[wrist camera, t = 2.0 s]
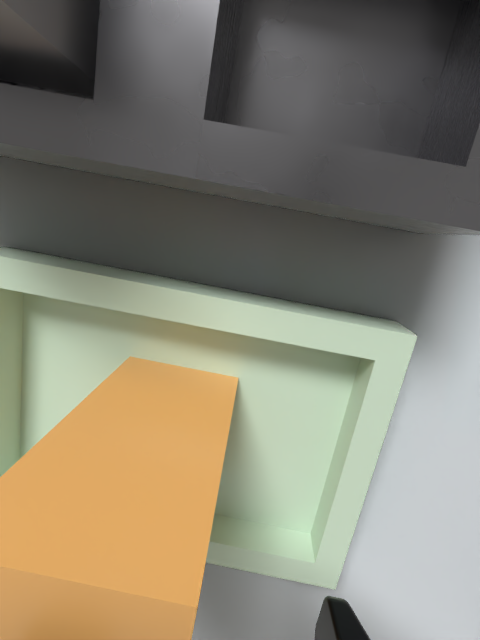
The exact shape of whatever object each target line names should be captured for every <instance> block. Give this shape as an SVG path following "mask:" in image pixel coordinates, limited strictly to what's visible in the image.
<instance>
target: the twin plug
mask: <svg viewBox="0 0 480 640" xmlns="http://www.w3.org/2000/svg"><path fill="white" fill-rule="evenodd" d="M99 9H100V0H0V80H2V81H8V82H13V83H19V84H24V85H30V86H36V87H41V88H47V89H52V90H58V91H63V92H69V93H74V94H80V95H85V96H91V97H94V85H95V70H96V55H97V39H98V24H99Z"/></svg>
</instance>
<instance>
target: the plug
mask: <svg viewBox="0 0 480 640" xmlns="http://www.w3.org/2000/svg"><path fill="white" fill-rule="evenodd" d="M238 379H239V378H238V377H233V376H228V375H223V374H217V373H212V372H207V371H202V370H197V369H192V368H187V367H182V366H177V365H171V364H166V363H161V362H156V361H151V360H146V359H141V358H136V357H131V356H130V357H129V358H128V359H127V360H125V361H124V362H123V363H122V364H121V365H120V366H119V367H118V368H117V369H116V370H115V371H114V372H113V373H112V374H110V375H109V376H108V377H107V378H106V379H105V380H104V381H103V382H102V383H101V384H100V385H99V386H98V387H97V388H95V389H94V390H93V391H92V392H91V393H90V394H89V395H88V396H87V397H86V398H85V399H84V400H83V401H82V402H80V403H79V404H78V405H77V406H76V407H75V408H74V409H73V410H72V411H71V412H70V413H69V414H68V415H67V416H65V417H64V418H63V419H62V420H61V421H60V422H59V423H58V424H57V425H56V426H55V427H54V428H53V429H52V430H50V431H49V432H48V433H47V434H46V435H45V436H44V437H43V438H42V439H41V440H40V441H39V442H38V443H37V444H35V445H34V446H33V447H32V448H31V449H30V450H29V451H28V452H27V453H26V454H25V455H24V456H23V457H22V458H20V459H19V460H18V461H17V462H16V463H15V464H14V465H13V466H12V467H11V468H10V469H9V470H8V471H7V472H5V473H4V474H3V475H2V476H1V477H0V640H191V638H192V633H193V628H194V623H195V618H196V613H197V608H198V602H199V597H200V591H201V586H202V580H203V574H204V569H205V563H206V558H207V552H208V546H209V541H210V535H211V530H212V524H213V518H214V513H215V507H216V502H217V496H218V490H219V485H220V479H221V474H222V468H223V462H224V457H225V451H226V446H227V440H228V435H229V429H230V423H231V418H232V412H233V407H234V401H235V395H236V390H237V384H238Z"/></svg>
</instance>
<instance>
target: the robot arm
mask: <svg viewBox="0 0 480 640" xmlns="http://www.w3.org/2000/svg"><path fill="white" fill-rule="evenodd" d="M315 640H370V638H369V636H368V635H367V633H366V631H365V630H364V628H363V626H362V625H361V623H360V621H359V620H358V618H357V616H356V615H355V613H354V611H353V610H352V608H351V606H350V605H349V603H348V602H347V601H346V600H344V599H341V598H336V597H331V596H327V597H326V598H325V599H324V601H323V604H322V607H321V611H320V614H319V617H318V620H317V623H316V628H315Z"/></svg>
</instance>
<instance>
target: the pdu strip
mask: <svg viewBox="0 0 480 640" xmlns="http://www.w3.org/2000/svg"><path fill="white" fill-rule="evenodd" d="M0 156H5V157H11V158H16V159H21V160H27V161H32V162H38V163H43V164H48V165H54V166H59V167H65V168H70V169H75V170H81V171H86V172H92V173H97V174H102V175H108V176H113V177H119V178H124V179H129V180H135V181H140V182H146V183H151V184H157V185H162V186H167V187H173V188H178V189H184V190H189V191H194V192H200V193H205V194H211V195H216V196H221V197H227V198H232V199H238V200H243V201H248V202H254V203H259V204H265V205H270V206H276V207H281V208H286V209H292V210H297V211H303V212H308V213H313V214H319V215H324V216H330V217H335V218H340V219H346V220H351V221H357V222H362V223H367V224H373V225H378V226H384V227H389V228H395V229H400V230H405V231H411V232H416V233H422V234H460V235H480V0H100V9H99V24H98V39H97V55H96V70H95V85H94V97H91V96H85V95H80V94H74V93H69V92H63V91H58V90H52V89H47V88H41V87H36V86H30V85H24V84H19V83H13V82H8V81H2V80H0Z"/></svg>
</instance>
